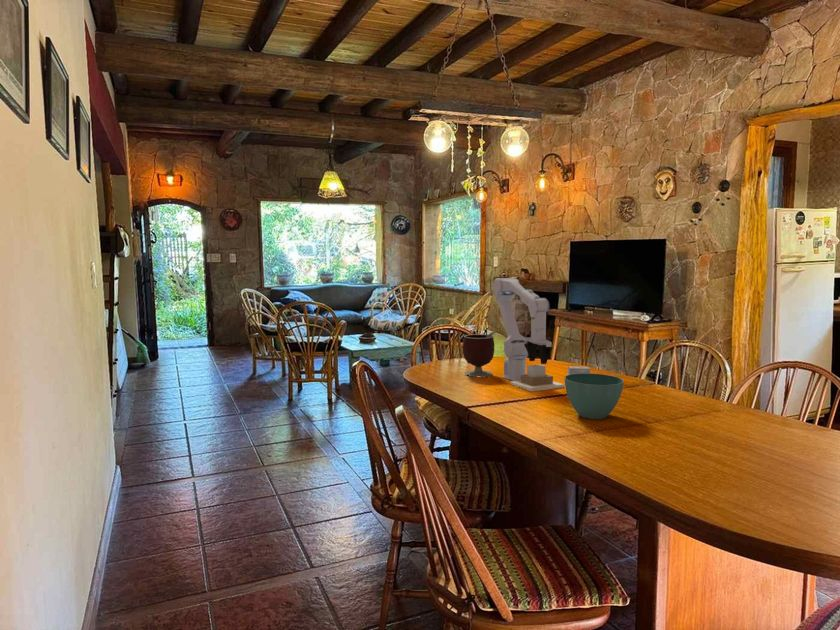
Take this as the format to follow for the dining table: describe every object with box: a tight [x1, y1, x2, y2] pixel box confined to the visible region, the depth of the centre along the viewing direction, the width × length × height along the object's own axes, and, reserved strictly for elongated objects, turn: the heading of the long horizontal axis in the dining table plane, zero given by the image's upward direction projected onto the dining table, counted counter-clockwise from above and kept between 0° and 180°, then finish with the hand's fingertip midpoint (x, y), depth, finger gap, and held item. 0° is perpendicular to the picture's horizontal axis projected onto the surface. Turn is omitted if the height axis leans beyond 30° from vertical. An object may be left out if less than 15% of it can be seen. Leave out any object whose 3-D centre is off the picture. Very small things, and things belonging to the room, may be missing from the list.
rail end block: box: [526, 363, 547, 378], centre depth 229 cm, size 4×6×7 cm, turn 116°
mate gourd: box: [462, 330, 499, 378], centre depth 252 cm, size 16×14×20 cm
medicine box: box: [567, 366, 591, 375], centre depth 223 cm, size 8×4×9 cm, turn 84°
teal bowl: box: [564, 372, 625, 420], centre depth 184 cm, size 18×18×12 cm
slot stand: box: [509, 373, 565, 392], centre depth 229 cm, size 14×16×4 cm
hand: (537, 362), depth 229 cm, fingers open, 7 cm apart
